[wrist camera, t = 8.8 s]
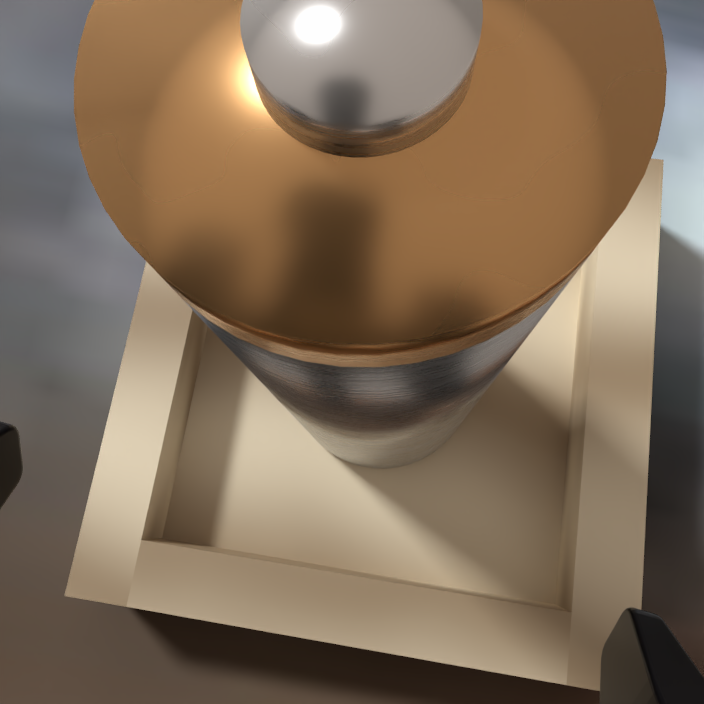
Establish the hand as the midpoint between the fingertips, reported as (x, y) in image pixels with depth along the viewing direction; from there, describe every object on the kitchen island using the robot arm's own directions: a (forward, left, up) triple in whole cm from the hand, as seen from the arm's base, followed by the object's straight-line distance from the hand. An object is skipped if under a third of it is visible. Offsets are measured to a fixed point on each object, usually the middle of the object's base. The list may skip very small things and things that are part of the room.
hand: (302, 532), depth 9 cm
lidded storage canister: (+4, -1, -8) cm, 9 cm away
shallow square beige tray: (+4, -1, -9) cm, 10 cm away
